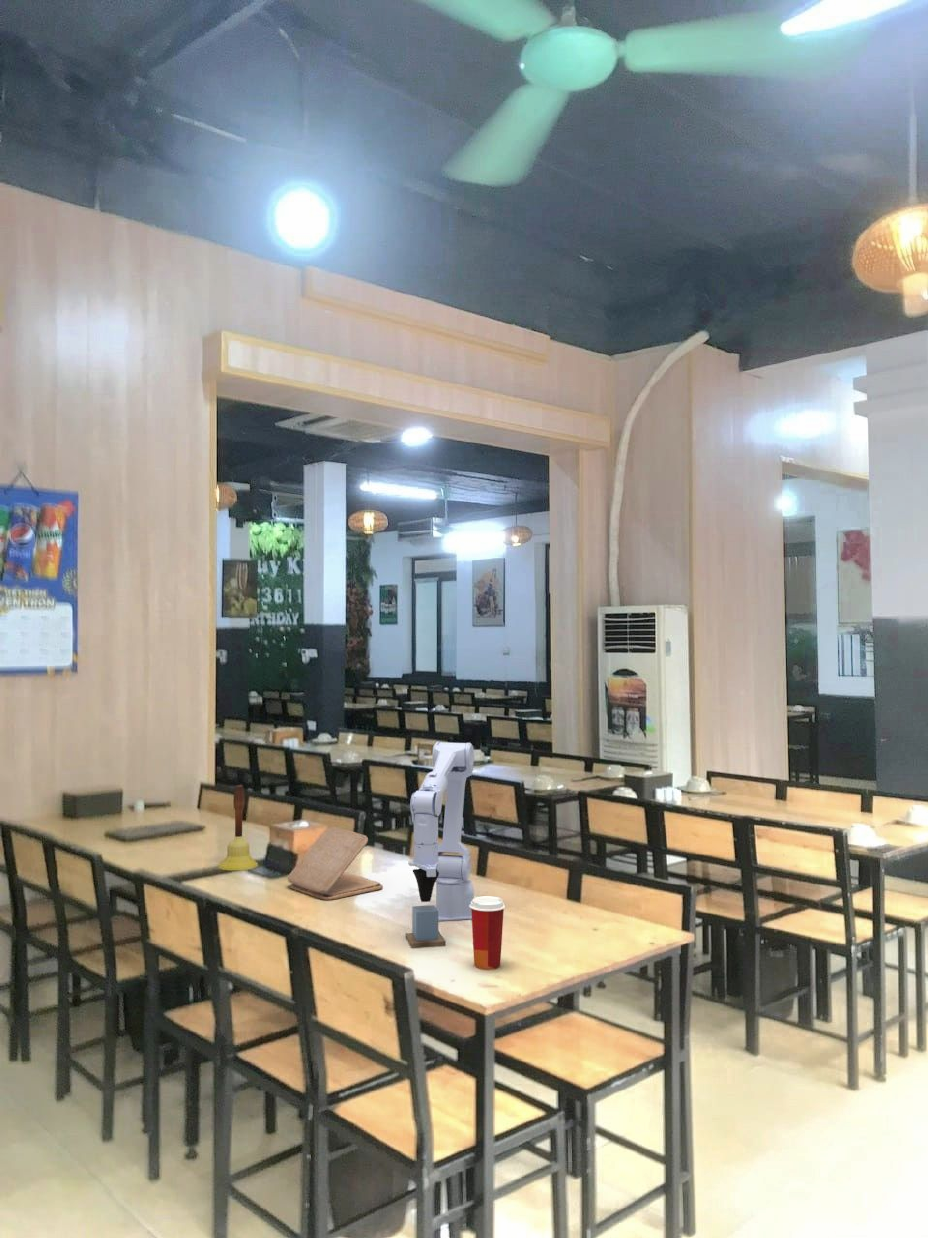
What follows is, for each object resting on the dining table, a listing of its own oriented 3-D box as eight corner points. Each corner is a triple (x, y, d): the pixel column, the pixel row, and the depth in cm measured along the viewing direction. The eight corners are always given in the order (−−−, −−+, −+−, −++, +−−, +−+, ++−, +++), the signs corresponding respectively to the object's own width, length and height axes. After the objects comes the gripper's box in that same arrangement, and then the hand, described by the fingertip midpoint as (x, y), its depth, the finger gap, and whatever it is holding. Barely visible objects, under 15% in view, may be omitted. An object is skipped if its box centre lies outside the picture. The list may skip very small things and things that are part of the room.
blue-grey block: (433, 933, 227) (434, 905, 227) (438, 940, 222) (438, 911, 222) (412, 934, 226) (412, 906, 226) (416, 941, 221) (416, 912, 221)
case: (284, 888, 273) (284, 832, 273) (345, 876, 287) (346, 822, 287) (323, 904, 258) (324, 844, 258) (386, 890, 271) (387, 833, 272)
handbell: (216, 862, 303) (217, 783, 304) (256, 860, 307) (257, 781, 308) (218, 871, 292) (219, 788, 292) (260, 869, 295) (261, 787, 296)
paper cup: (503, 959, 212) (503, 895, 212) (506, 971, 204) (506, 905, 204) (468, 959, 211) (468, 895, 212) (469, 971, 204) (469, 905, 204)
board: (438, 935, 229) (438, 931, 229) (445, 945, 221) (445, 941, 221) (405, 937, 227) (405, 933, 227) (411, 948, 219) (411, 943, 219)
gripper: (403, 837, 231) (403, 894, 230) (414, 849, 217) (413, 910, 216) (432, 835, 232) (432, 892, 232) (444, 848, 218) (444, 908, 218)
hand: (425, 901), depth 224 cm, fingers closed
